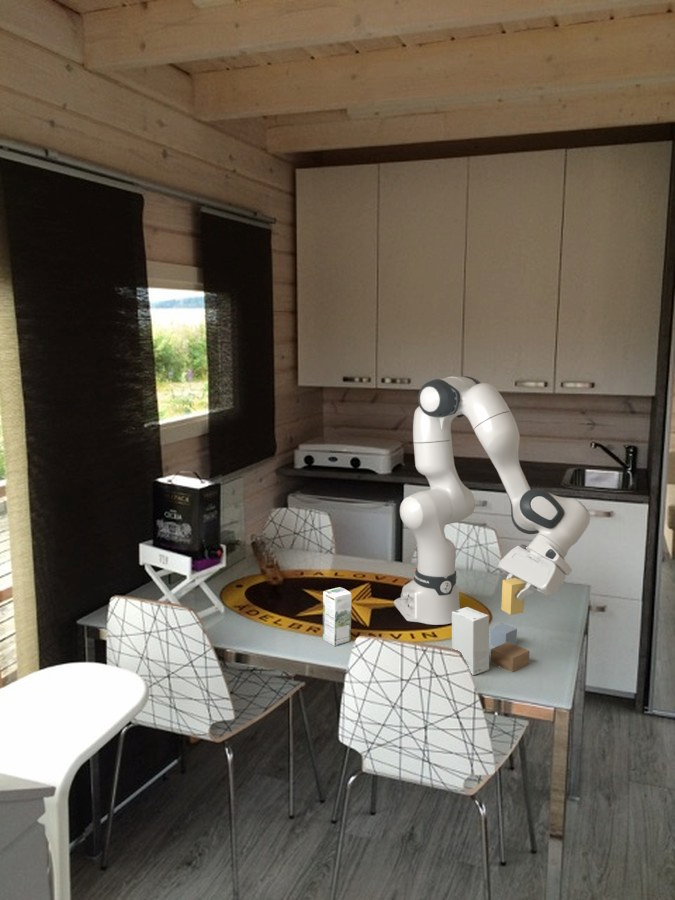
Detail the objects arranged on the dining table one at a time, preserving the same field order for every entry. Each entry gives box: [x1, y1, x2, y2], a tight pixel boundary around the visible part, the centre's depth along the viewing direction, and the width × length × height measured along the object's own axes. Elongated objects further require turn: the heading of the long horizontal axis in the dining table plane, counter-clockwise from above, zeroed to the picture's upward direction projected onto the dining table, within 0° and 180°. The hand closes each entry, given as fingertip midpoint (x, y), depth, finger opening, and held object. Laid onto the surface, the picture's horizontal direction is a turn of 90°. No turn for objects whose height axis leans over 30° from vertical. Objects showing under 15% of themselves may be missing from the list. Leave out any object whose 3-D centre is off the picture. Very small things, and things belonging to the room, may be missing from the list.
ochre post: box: [500, 578, 526, 616], centre depth 206 cm, size 4×4×8 cm
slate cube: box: [489, 623, 518, 648], centre depth 220 cm, size 5×5×5 cm
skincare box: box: [451, 606, 490, 676], centre depth 206 cm, size 8×6×15 cm
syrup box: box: [321, 586, 353, 647], centre depth 221 cm, size 6×6×14 cm
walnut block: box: [489, 642, 530, 673], centre depth 209 cm, size 7×7×4 cm
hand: (511, 595), depth 206 cm, fingers closed on ochre post, 4 cm apart
